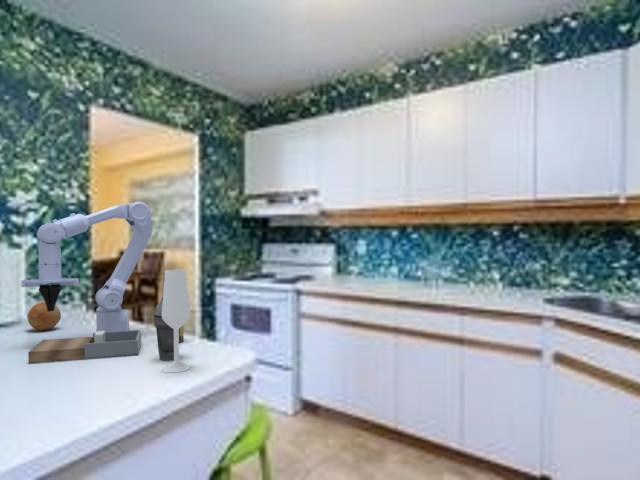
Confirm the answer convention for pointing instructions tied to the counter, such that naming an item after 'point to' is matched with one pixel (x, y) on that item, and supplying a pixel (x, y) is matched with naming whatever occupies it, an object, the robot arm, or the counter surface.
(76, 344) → the plate
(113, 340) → the box
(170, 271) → the champagne flute
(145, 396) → the counter surface
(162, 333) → the beverage cup
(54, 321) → the onion
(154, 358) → the counter surface
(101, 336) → the tile
